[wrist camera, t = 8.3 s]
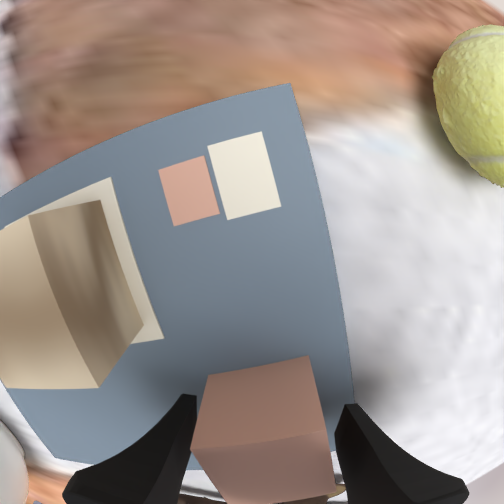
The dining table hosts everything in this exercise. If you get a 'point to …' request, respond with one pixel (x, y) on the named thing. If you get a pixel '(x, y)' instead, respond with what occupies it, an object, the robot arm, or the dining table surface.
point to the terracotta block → (264, 434)
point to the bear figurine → (315, 503)
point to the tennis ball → (474, 98)
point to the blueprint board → (199, 266)
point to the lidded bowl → (12, 469)
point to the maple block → (62, 300)
